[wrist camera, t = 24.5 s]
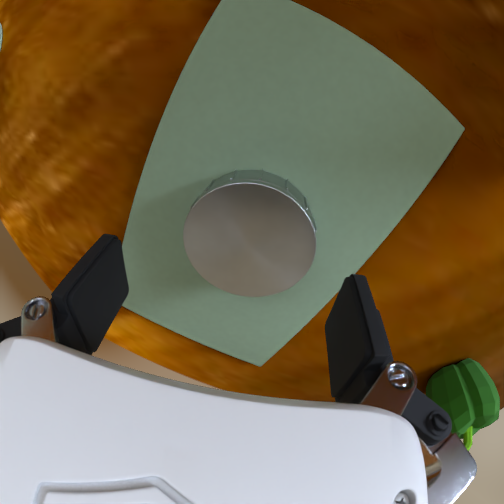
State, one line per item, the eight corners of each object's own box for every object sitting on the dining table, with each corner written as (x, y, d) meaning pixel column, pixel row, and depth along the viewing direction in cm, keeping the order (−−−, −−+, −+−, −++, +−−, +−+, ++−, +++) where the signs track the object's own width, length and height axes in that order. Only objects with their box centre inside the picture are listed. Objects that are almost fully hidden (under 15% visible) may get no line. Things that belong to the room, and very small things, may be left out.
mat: (261, 362, 22) (260, 367, 21) (114, 296, 20) (111, 300, 19) (460, 126, 10) (465, 128, 10) (236, -17, 8) (234, -21, 7)
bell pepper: (487, 362, 21) (509, 434, 12) (430, 397, 25) (443, 467, 16) (475, 336, 18) (507, 426, 10) (406, 379, 22) (421, 468, 14)
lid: (185, 171, 13) (171, 184, 11) (317, 169, 12) (321, 182, 11) (202, 273, 16) (194, 294, 15) (309, 276, 16) (311, 299, 14)
